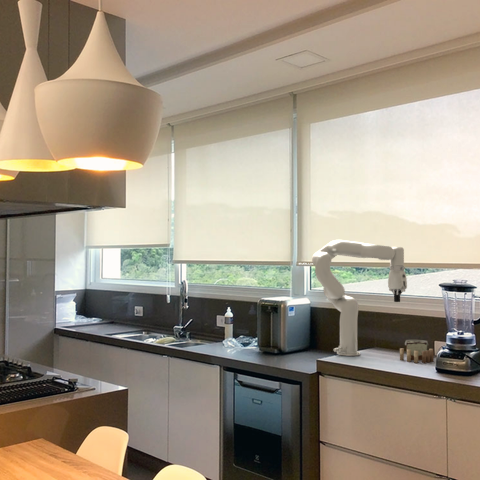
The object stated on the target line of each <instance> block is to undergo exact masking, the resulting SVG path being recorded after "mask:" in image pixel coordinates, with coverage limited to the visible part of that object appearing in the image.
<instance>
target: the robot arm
mask: <svg viewBox="0 0 480 480" xmlns="http://www.w3.org/2000/svg"><path fill="white" fill-rule="evenodd" d="M337 256H343V257H352V258H360V259H368V258H369V259H378V260H380V261H389V272H388V281H387V284H388V285H387V286H388V290H389V291H390V292H392V295H393V296H394V297H393V302H394V303H400V302H401V295H402V293H403V292H406V290H407V289H408V281H407V279H408V278H407V274H406V271H405V269H406V267H405V249H404V248H403V247H401V246H389V245H381V244H373V243H365V242H360V241H351V240H344V239H335V240H331V241H330V242H328V243H327V244H325V245H324V246H323V247H322V248H320V249H319V250H317V251H316V252H315V253H314V254H313V255H312V257H311V262H312V264H313V265H314V271H315V272H314V273H315V276H316V279H317V280H318V282H319V283H320V284H321V286H322V287H323V294H324V295H325V297H326V298H327V299H328V301H329V302H330V303H331V304H332V305H333V307H334V308H335V309H336V310H337V311H339V312H340V315H339V345H338V347H335V348H333V350H332V351H333V352H334V353H336V354H337V355H339V356H345V357H346V356H349V357H353V356H354V357H355V356H356V357H357V356H360V355H361V352H360V351H358V318H359V317H358V315H359V303H358V301H357V299H356V298H354V297H352V296H349V295H347V294H346V292H345V291H346V290H345V287H344V286H343V284H342V283H341V282H340V281H339V280H338V279H337V277H336V276H335V275H334V274H333V272H332V271H331V264H332V260H333V259H334V258H336V257H337Z"/></svg>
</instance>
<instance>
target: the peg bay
mask: <svg viewBox="0 0 480 480" xmlns="http://www.w3.org/2000/svg"><path fill="white" fill-rule="evenodd" d="M434 354H435V353H434V348H429V349H427V350H426V351H422V361H421V363H422V364H429V363H434V360H435V359H434V358H435V357H434ZM399 361H405V348H401V347H400V348H399ZM406 362H408V363H411V362H412V361H411V350H410V349H407V350H406ZM413 363H414V364H418V363H419V361H418V351H414V361H413Z"/></svg>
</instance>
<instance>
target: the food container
mask: <svg viewBox="0 0 480 480" xmlns="http://www.w3.org/2000/svg"><path fill="white" fill-rule="evenodd" d="M404 346H405V350H406V351H407V349H410V350H411V362H412V361H413V362H414V351H418V362H419V361H421V362H422V351H426V350H428V346H429V343H428V340H423V339H406V340H405V342H404Z"/></svg>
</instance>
